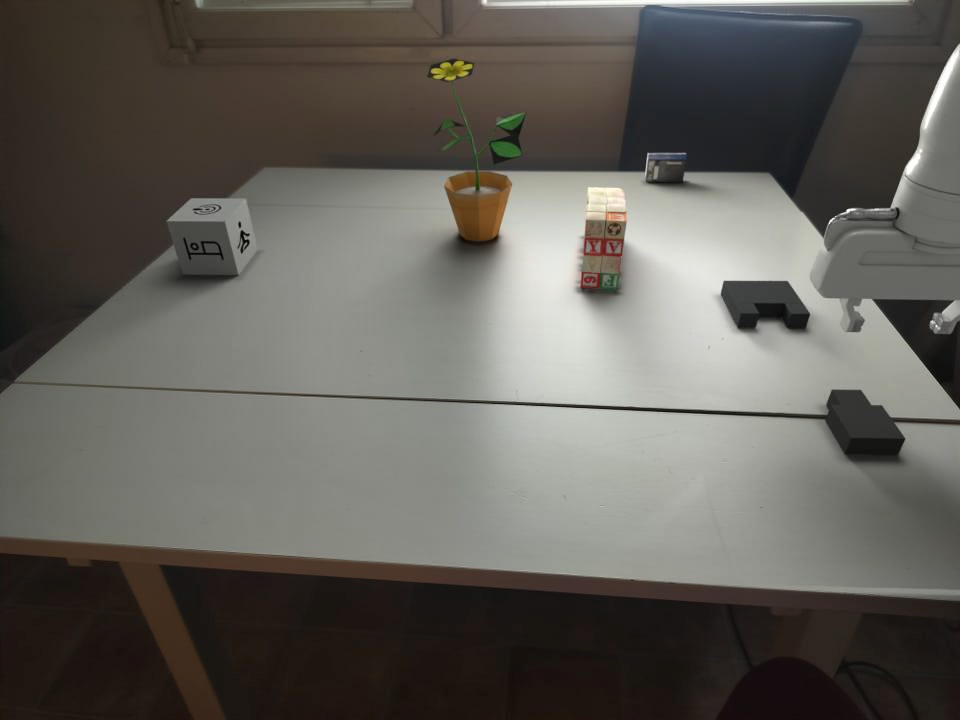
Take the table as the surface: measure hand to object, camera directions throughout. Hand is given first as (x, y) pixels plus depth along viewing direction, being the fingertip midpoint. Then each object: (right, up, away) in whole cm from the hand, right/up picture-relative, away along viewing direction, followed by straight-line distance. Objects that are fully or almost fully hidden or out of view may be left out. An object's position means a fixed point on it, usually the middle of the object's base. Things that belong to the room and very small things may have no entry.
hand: (894, 330), depth 72 cm
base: (-1, +4, +31) cm, 31 cm away
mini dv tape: (-4, +37, +77) cm, 85 cm away
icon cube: (-91, +14, +48) cm, 104 cm away
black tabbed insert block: (+1, -11, +8) cm, 14 cm away
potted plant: (-45, +21, +56) cm, 75 cm away
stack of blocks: (-23, +14, +46) cm, 54 cm away
